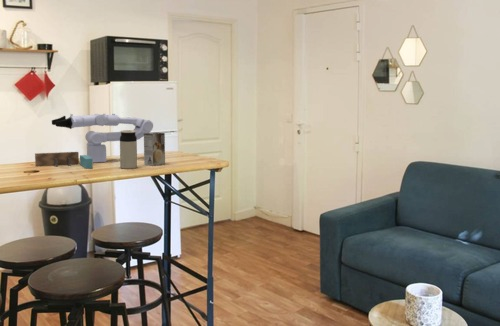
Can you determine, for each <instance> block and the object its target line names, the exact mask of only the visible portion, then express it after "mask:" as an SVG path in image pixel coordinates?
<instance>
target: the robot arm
mask: <svg viewBox="0 0 500 326" xmlns="http://www.w3.org/2000/svg"><path fill="white" fill-rule="evenodd" d="M120 124H122V125H123V124H124V125H133V126H134V128H133V131H136V133H135V136H136V137H137V140H141V139H142V138H144V134H145V133H152V130H153V128H154V123H153V122H152V121H151V120H150V119H143V118H138V117H120V116H119V115H117V114H116V113H111V114H106V113H103V114H99V113H95V114H87V115H85V114H84V115H73V113H70V115H69V117H68V118H67V117H66V115H62V116H61V117H58V118H55V119H52V120H51V125H53V126H56V127H59V128H67V129H70V130H72V129H75V128H82V127H84V128H85V127H92V126H93V127H94V126H99V127H100V126H101V127H103V126H107V127H108V126H110V127H118V125H120ZM120 136H121V132H120V131H114V132H113V131H112V132H99V131H94V130H89V131H88V132H87V133H86V134H85V136H84V137H85V140H86V155H87V156H89V157H90V158H92V161H93V163H106V162H107V161H108V160H107V146H106V144H104V143H106V142H120ZM102 143H103V144H102Z"/></svg>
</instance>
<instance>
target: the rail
mask: <svg viewBox="0 0 500 326" xmlns="http://www.w3.org/2000/svg"><path fill="white" fill-rule="evenodd" d="M93 164H94V162H93V161H92V158H90V157H89V156H87V154H83V155H82V154H81V155H79V165H80V166H82V168H84V169H85V168H86V169H85V170H92V169H93V167H94V165H93Z"/></svg>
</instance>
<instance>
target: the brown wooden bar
mask: <svg viewBox="0 0 500 326" xmlns="http://www.w3.org/2000/svg"><path fill="white" fill-rule="evenodd" d="M34 162H35V164H34V165H35V167H49V166H50V167H51V166H53V167H56V168H57V167H58V166H68V167H71V165H80V155H79V151H65V152H61V151H59V152H41V153H39V152H38V153H34Z"/></svg>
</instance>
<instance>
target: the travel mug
mask: <svg viewBox="0 0 500 326" xmlns="http://www.w3.org/2000/svg"><path fill="white" fill-rule="evenodd" d="M133 130H134V129H133ZM133 130H127V129H126V130H120V131H119V132H121V136H120V141H119V165H120V166H119V168H121V169H123V170H129V169H131V170H132V169H133V168H134V169H137V168H138V147H137V146H138V143H137V142H138V141H137V137H136V136H135V133H136V131H133Z"/></svg>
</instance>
